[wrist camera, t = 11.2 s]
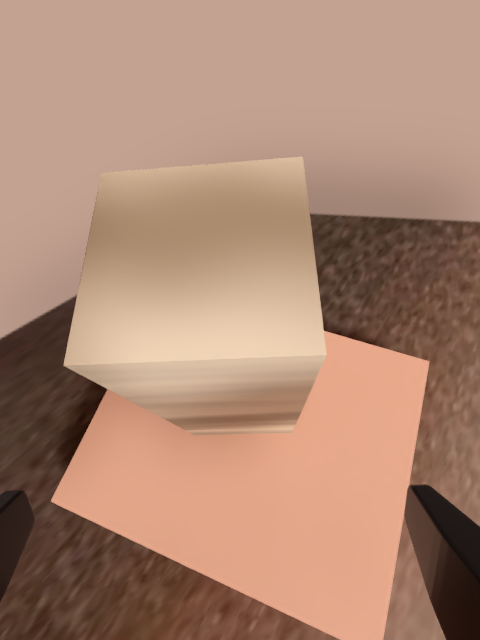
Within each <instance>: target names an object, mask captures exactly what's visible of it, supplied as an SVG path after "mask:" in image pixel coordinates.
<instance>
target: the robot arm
mask: <svg viewBox="0 0 480 640" xmlns="http://www.w3.org/2000/svg"><path fill="white" fill-rule="evenodd" d="M405 520H406V524H407V528H408V531H409V534H410V537H411V541H412V544H413V547H414V550H415V553H416V557H417V560H418V563H419V566H420V569H421V573H422V576H423V579H424V582H425V586H426V589H427V592H428V595H429V598H430V601H431V603H432V606H433V608H434V611H435V614H436V616H437V618H438V621H439V623H440V626H441V628H442V630H443V633H444V635H445V638H446V640H480V526H478V525H477V524H476V523H475V522H473V521H472V520H471V519H470V518H469V517H467V516H466V515H465V514H464V513H462V512H461V511H460V510H459V509H458V508H456V507H455V506H454V505H453V504H451V503H450V502H449V501H448V500H447V499H445V498H444V497H443V496H442V495H441V494H439V493H438V492H437V491H436V490H434V489H433V488H432V487H431V486H429V485H426V484H416V485H409V487H408V489H407V496H406V504H405ZM34 521H35V515H34V512H33V509H32V506H31V503H30V501H29V498H28V495H27V493H26V492H25V491H22V490H21V491H6V492H4V493H3V494H1V495H0V601H1V599H2V597H3V595H4V593H5V591H6V589H7V586H8V584H9V582H10V580H11V577H12V575H13V573H14V570H15V568H16V566H17V563H18V561H19V559H20V556H21V554H22V552H23V549H24V547H25V545H26V542H27V540H28V538H29V535H30V533H31V531H32V528H33V526H34Z"/></svg>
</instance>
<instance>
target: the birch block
mask: <svg viewBox="0 0 480 640" xmlns="http://www.w3.org/2000/svg"><path fill="white" fill-rule="evenodd" d="M326 356H327V353H326V345H325V337H324V329H323V320H322V312H321V304H320V295H319V287H318V279H317V271H316V262H315V254H314V246H313V238H312V229H311V221H310V213H309V205H308V196H307V189H306V180H305V172H304V163H303V157H292V158H280V159H267V160H255V161H243V162H231V163H217V164H205V165H193V166H181V167H168V168H156V169H143V170H130V171H118V172H107V173H101V177H100V182H99V187H98V192H97V197H96V202H95V207H94V213H93V218H92V223H91V228H90V233H89V238H88V243H87V248H86V254H85V258H84V263H83V269H82V274H81V279H80V284H79V289H78V294H77V299H76V304H75V309H74V314H73V319H72V325H71V330H70V335H69V340H68V345H67V350H66V355H65V360H64V365H63V366H65V367H67V368H69V369H71V370H72V371H74V372H76V373H78V374H80V375H82V376H84V377H86V378H88V379H89V380H91V381H93V382H95V383H97V384H99V385H101V386H103V387H105V388H106V389H108V390H110V391H112V392H114V393H116V394H118V395H120V396H121V397H123V398H125V399H127V400H129V401H131V402H133V403H135V404H137V405H138V406H140V407H142V408H144V409H146V410H148V411H150V412H152V413H154V414H155V415H157V416H159V417H161V418H163V419H165V420H167V421H169V422H170V423H172V424H174V425H176V426H178V427H180V428H182V429H184V430H186V431H187V432H189V433H191V434H193V435H226V434H265V433H292V432H293V430H294V428H295V425H296V423H297V421H298V419H299V416H300V414H301V412H302V410H303V407H304V405H305V403H306V401H307V398H308V396H309V394H310V392H311V389H312V387H313V385H314V383H315V380H316V378H317V376H318V374H319V371H320V369H321V367H322V365H323V362H324V360H325V358H326Z"/></svg>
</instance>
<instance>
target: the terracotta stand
mask: <svg viewBox="0 0 480 640" xmlns="http://www.w3.org/2000/svg"><path fill="white" fill-rule="evenodd" d="M324 337H325V345H326V353H327V356H326V358H325V360H324V362H323V365H322V367H321V369H320V371H319V374H318V376H317V378H316V380H315V383H314V385H313V387H312V389H311V392H310V394H309V396H308V398H307V401H306V403H305V405H304V407H303V410H302V412H301V414H300V416H299V419H298V421H297V423H296V425H295V428H294V430H293V432H292V433H265V434H226V435H193V434H191V433H189V432H187V431H186V430H184V429H182V428H180V427H178V426H176V425H174V424H172V423H170V422H169V421H167V420H165V419H163V418H161V417H159V416H157V415H155V414H154V413H152V412H150V411H148V410H146V409H144V408H142V407H140V406H138V405H137V404H135V403H133V402H131V401H129V400H127V399H125V398H123V397H121V396H120V395H118V394H116V393H114V392H112V391H110V390H108V389H107V391H106V393H105V395H104V397H103V399H102V401H101V403H100V405H99V407H98V409H97V411H96V413H95V415H94V417H93V419H92V421H91V423H90V425H89V427H88V429H87V431H86V433H85V435H84V437H83V439H82V441H81V443H80V444H79V446H78V448H77V450H76V452H75V454H74V456H73V458H72V460H71V462H70V464H69V466H68V468H67V470H66V472H65V474H64V476H63V478H62V480H61V482H60V484H59V486H58V488H57V490H56V492H55V494H54V496H53V498H52V500H51V502H53V503H55V504H57V505H59V506H61V507H63V508H65V509H67V510H70V511H72V512H74V513H76V514H78V515H80V516H82V517H84V518H86V519H88V520H90V521H93V522H95V523H97V524H99V525H101V526H103V527H105V528H107V529H109V530H111V531H114V532H116V533H118V534H120V535H122V536H124V537H126V538H128V539H130V540H132V541H135V542H137V543H139V544H141V545H143V546H145V547H147V548H149V549H151V550H153V551H156V552H158V553H160V554H162V555H164V556H166V557H168V558H170V559H172V560H174V561H176V562H179V563H181V564H183V565H185V566H187V567H189V568H191V569H193V570H195V571H197V572H200V573H202V574H204V575H206V576H208V577H210V578H212V579H214V580H216V581H218V582H221V583H223V584H225V585H227V586H229V587H231V588H233V589H235V590H237V591H239V592H242V593H244V594H246V595H248V596H250V597H252V598H254V599H256V600H258V601H260V602H262V603H265V604H267V605H269V606H271V607H273V608H275V609H277V610H279V611H281V612H283V613H286V614H288V615H290V616H292V617H294V618H296V619H298V620H300V621H302V622H304V623H307V624H309V625H311V626H313V627H315V628H317V629H319V630H321V631H323V632H325V633H327V634H330V635H332V636H334V637H336V638H338V639H340V640H383V637H384V631H385V625H386V619H387V613H388V607H389V601H390V595H391V589H392V583H393V577H394V571H395V565H396V559H397V553H398V547H399V541H400V535H401V529H402V523H403V517H404V511H405V504H406V496H407V489H408V487H409V481H410V475H411V469H412V463H413V457H414V451H415V445H416V439H417V433H418V427H419V421H420V415H421V409H422V403H423V397H424V391H425V385H426V379H427V373H428V367H429V361H426V360H422V359H419V358H415V357H412V356H409V355H405V354H402V353H398V352H395V351H392V350H388V349H385V348H381V347H378V346H374V345H371V344H368V343H364V342H361V341H357V340H354V339H351V338H347V337H344V336H340V335H337V334H333V333H330V332H327V331H324Z"/></svg>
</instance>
